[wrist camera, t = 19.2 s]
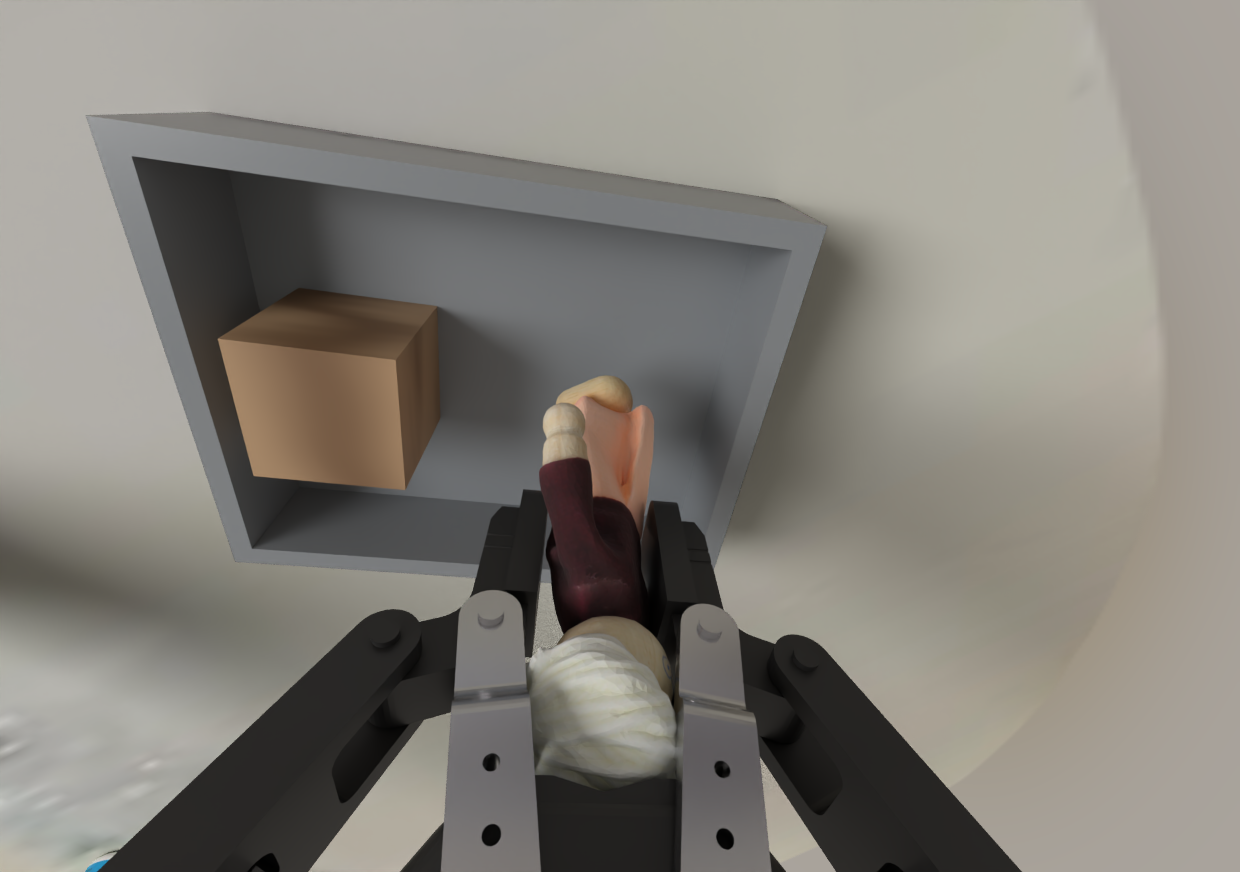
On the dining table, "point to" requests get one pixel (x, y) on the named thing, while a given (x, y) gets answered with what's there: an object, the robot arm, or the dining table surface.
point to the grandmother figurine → (600, 599)
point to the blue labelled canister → (99, 862)
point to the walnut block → (336, 387)
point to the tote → (458, 316)
